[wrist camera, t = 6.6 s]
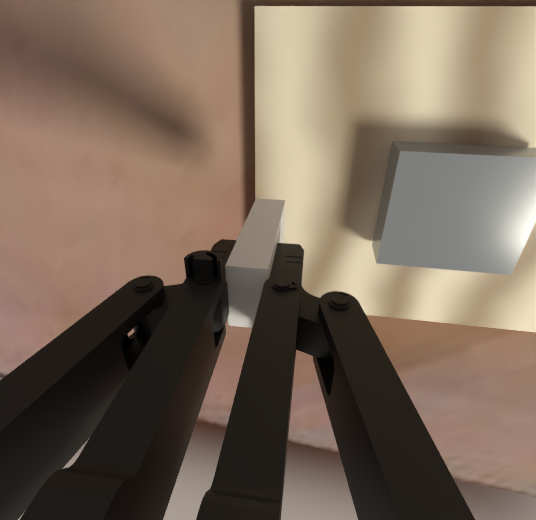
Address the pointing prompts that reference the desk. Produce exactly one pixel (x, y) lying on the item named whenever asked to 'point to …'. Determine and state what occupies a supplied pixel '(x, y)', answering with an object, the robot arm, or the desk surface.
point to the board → (389, 139)
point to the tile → (456, 206)
